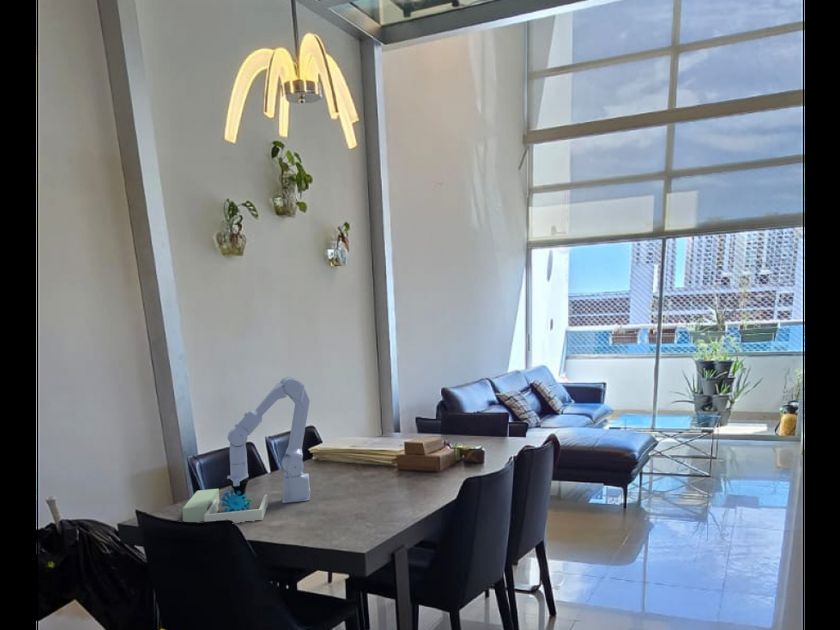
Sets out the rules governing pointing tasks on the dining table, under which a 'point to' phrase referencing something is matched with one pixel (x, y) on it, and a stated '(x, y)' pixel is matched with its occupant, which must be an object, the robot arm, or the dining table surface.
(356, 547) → the dining table surface
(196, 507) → the pale green rounded block
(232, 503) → the gear
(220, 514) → the shallow white tray
